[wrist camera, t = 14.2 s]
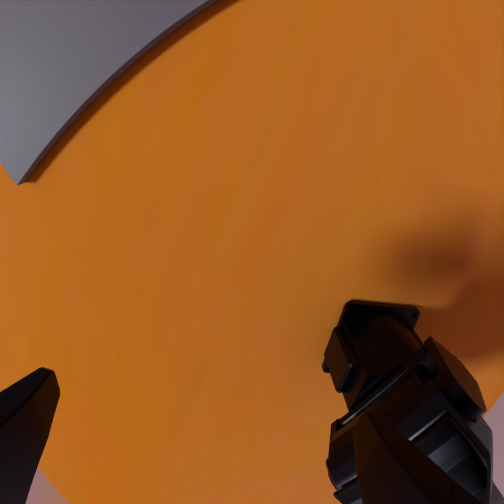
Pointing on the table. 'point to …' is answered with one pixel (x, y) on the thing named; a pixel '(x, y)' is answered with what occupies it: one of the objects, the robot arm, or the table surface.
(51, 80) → the stove plate
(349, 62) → the table surface
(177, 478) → the table surface
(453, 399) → the robot arm
